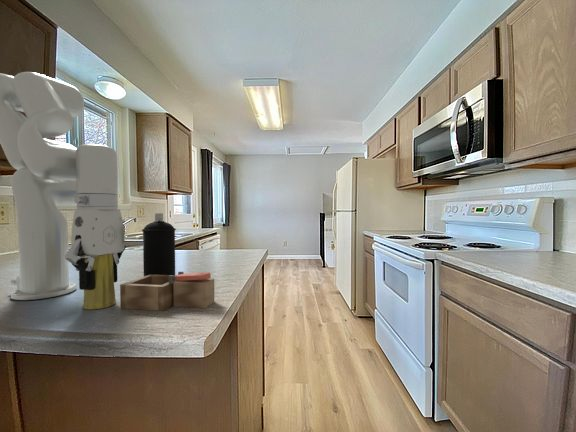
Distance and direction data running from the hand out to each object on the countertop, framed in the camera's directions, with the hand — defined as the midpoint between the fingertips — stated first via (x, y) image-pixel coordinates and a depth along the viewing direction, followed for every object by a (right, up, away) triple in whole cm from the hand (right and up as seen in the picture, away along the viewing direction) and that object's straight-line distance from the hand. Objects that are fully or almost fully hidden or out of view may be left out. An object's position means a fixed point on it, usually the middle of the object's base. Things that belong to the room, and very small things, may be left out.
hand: (99, 284), depth 64 cm
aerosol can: (+7, -4, +14) cm, 16 cm away
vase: (0, -5, 0) cm, 5 cm away
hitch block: (+15, -4, +2) cm, 16 cm away
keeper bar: (+20, +1, +1) cm, 20 cm away
